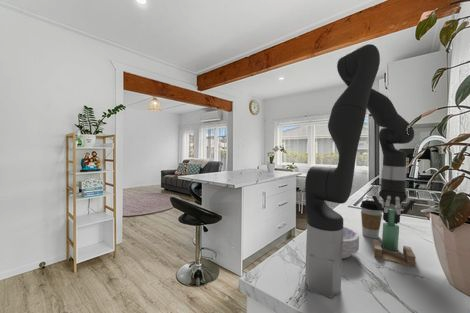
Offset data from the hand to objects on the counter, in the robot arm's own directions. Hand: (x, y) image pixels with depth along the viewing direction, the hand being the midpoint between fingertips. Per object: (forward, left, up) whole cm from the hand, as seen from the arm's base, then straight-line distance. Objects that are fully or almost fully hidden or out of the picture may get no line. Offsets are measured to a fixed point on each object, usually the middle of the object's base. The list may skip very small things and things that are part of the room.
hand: (391, 222), depth 81 cm
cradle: (-8, 0, -10) cm, 13 cm away
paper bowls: (-15, +18, -10) cm, 26 cm away
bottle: (0, 0, -10) cm, 10 cm away
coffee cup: (+10, +6, -10) cm, 16 cm away
